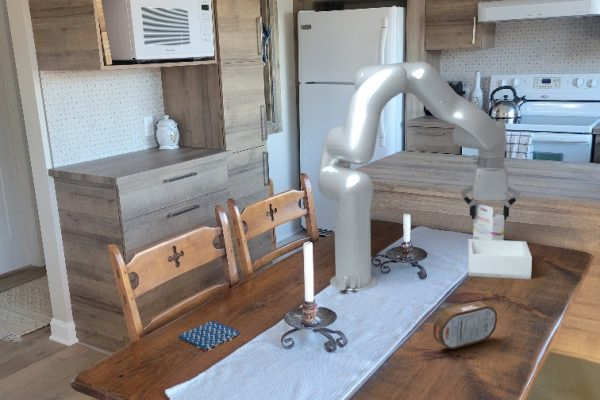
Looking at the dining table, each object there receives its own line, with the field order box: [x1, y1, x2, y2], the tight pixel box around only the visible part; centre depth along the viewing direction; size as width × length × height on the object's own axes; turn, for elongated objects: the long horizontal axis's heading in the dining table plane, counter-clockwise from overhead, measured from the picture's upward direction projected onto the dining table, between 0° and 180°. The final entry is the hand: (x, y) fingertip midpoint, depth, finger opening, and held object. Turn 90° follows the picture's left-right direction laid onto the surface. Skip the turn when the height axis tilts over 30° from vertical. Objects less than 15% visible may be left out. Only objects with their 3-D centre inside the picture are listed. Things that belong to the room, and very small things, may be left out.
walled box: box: [467, 238, 533, 280], centre depth 162 cm, size 15×16×6 cm
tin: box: [432, 300, 498, 350], centre depth 119 cm, size 15×3×8 cm, turn 114°
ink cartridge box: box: [472, 203, 505, 240], centre depth 176 cm, size 9×5×15 cm, turn 25°
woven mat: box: [178, 320, 242, 353], centre depth 126 cm, size 10×11×2 cm
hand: (488, 218), depth 176 cm, fingers closed on ink cartridge box, 8 cm apart
